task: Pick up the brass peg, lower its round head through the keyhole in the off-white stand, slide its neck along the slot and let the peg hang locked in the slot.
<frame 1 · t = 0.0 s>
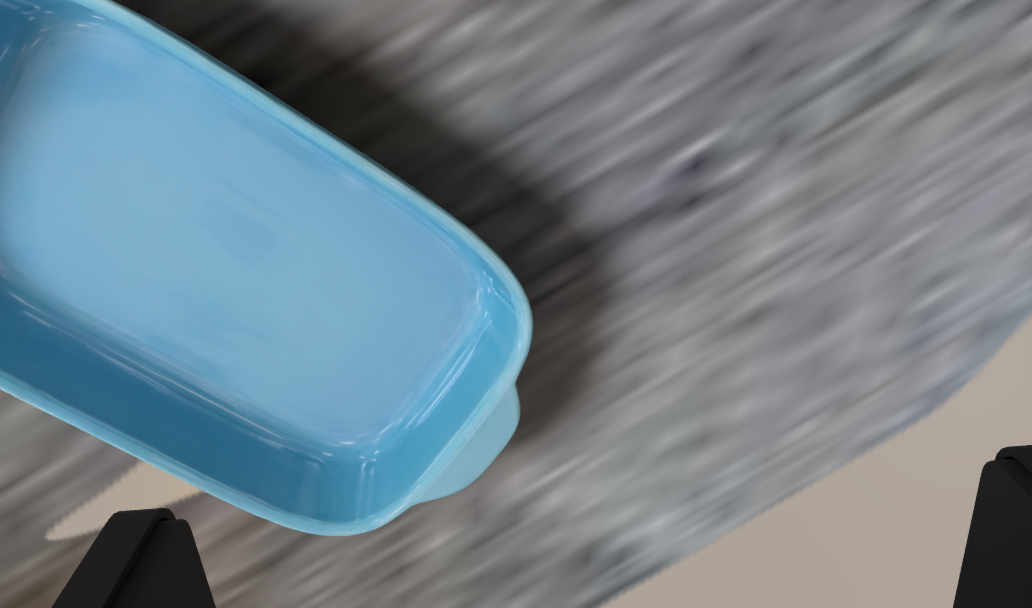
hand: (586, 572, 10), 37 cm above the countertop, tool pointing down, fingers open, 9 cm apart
casserole dish: (239, 249, 48), on the countertop
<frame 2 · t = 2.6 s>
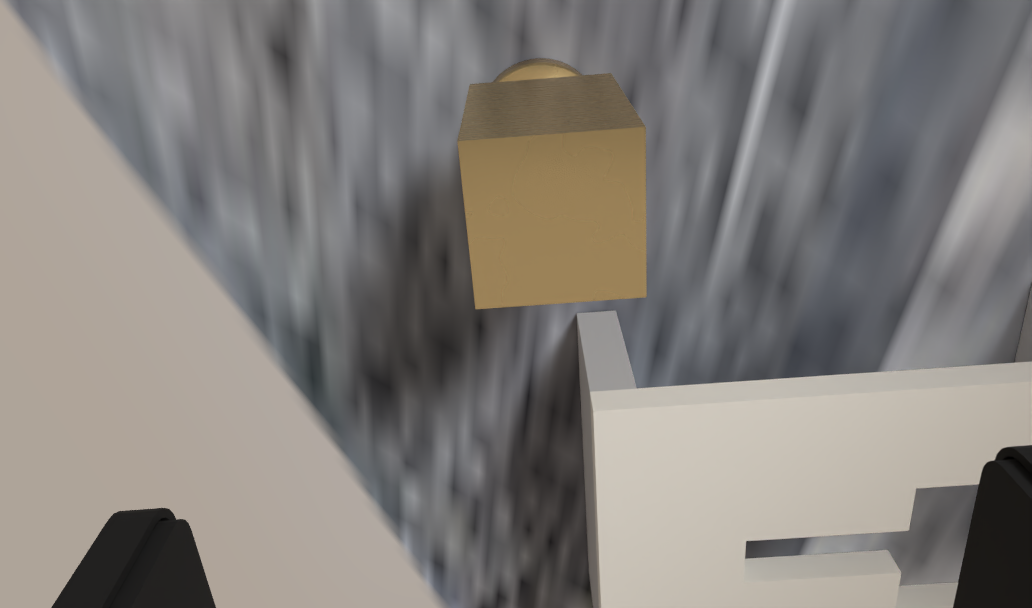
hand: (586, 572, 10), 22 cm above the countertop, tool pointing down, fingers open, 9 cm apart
brass peg: (540, 120, 30), on the countertop
keyhole stand: (808, 438, 36), on the countertop
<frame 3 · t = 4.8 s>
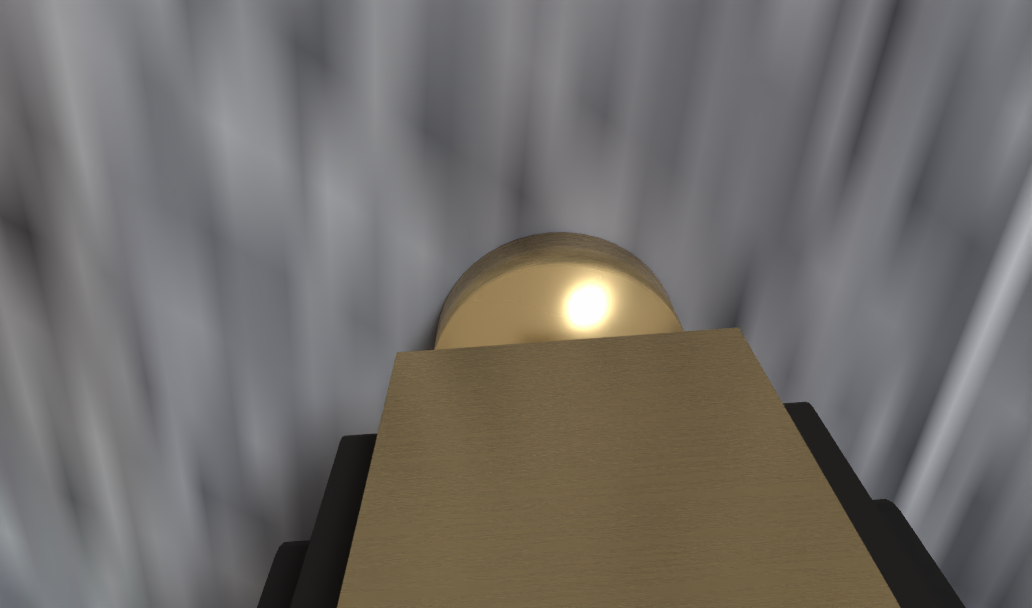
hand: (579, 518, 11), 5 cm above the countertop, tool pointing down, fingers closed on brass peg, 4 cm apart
brass peg: (556, 344, 15), on the countertop, touching gripper
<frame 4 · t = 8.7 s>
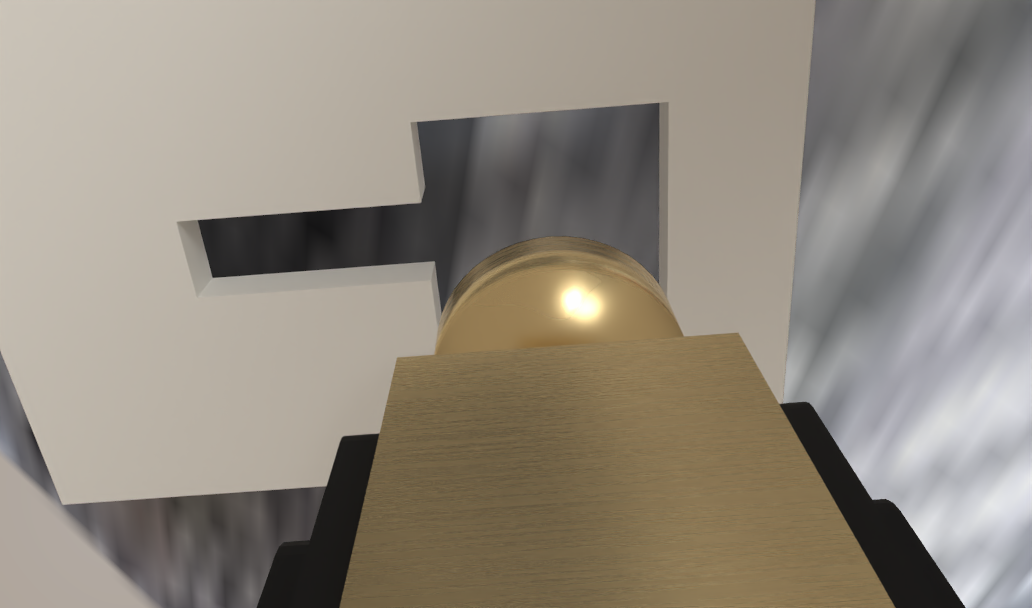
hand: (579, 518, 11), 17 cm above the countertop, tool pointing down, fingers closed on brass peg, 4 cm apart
brass peg: (556, 348, 15), point 12 cm above the countertop, touching gripper
keyhole stand: (410, 162, 26), on the countertop
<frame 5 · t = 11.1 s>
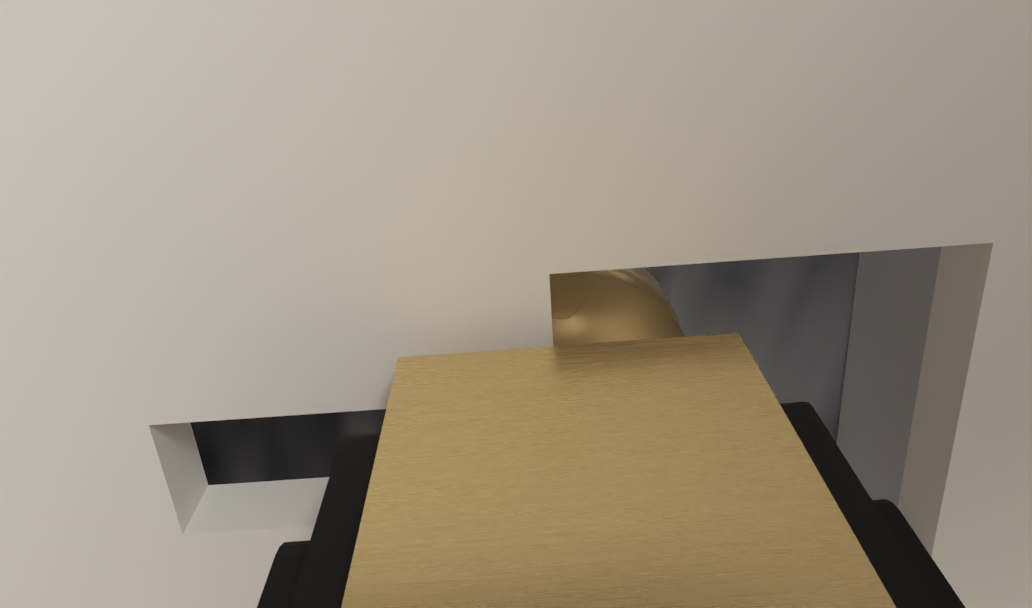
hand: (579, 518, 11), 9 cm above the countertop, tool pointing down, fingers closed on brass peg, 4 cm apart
brass peg: (557, 348, 15), point 4 cm above the countertop, touching gripper
keyhole stand: (489, 268, 18), on the countertop
when the fingers open (8 cm above the countertop, at t = 12.8 s): brass peg stays where it is, resting on keyhole stand.
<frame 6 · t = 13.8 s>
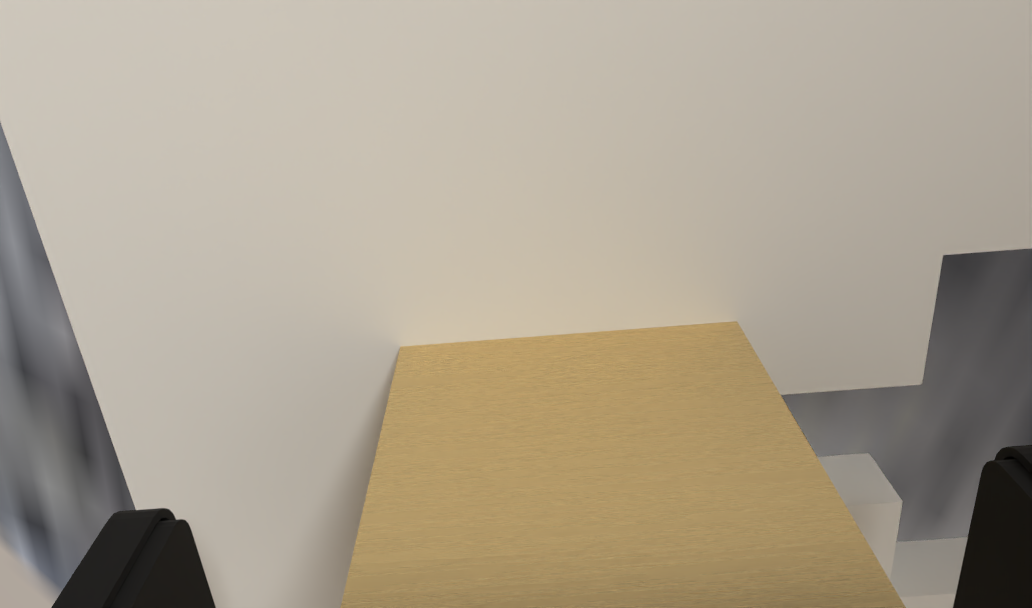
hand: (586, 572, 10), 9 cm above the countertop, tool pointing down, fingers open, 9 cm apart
brass peg: (557, 341, 15), point 3 cm above the countertop, touching keyhole stand
keyhole stand: (712, 258, 18), on the countertop
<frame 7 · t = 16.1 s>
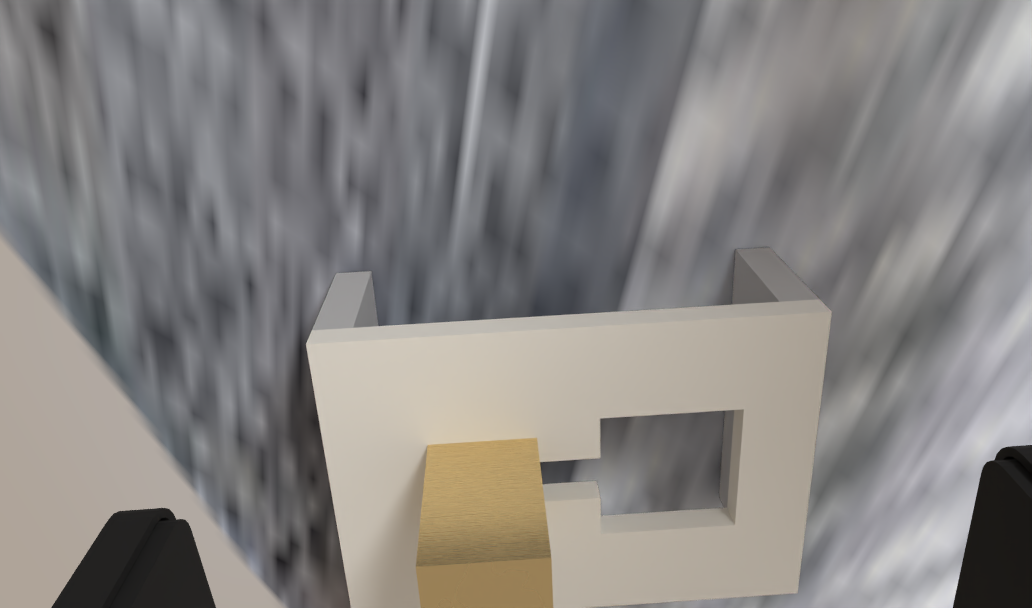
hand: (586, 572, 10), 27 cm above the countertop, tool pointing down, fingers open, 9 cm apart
brass peg: (484, 434, 37), point 3 cm above the countertop, touching keyhole stand
keyhole stand: (558, 392, 40), on the countertop
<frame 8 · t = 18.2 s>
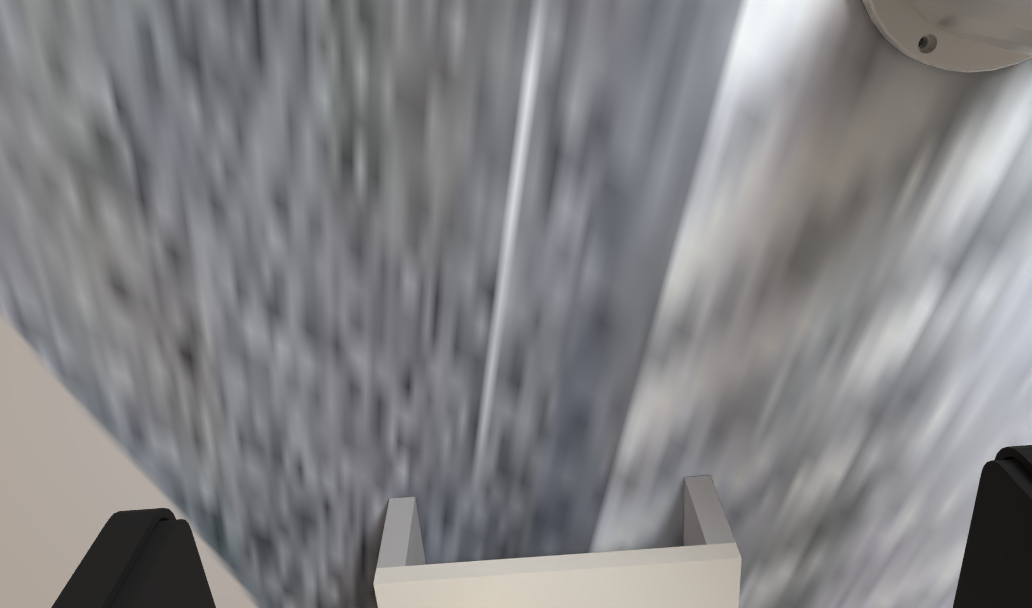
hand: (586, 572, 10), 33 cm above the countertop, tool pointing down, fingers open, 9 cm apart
keyhole stand: (555, 572, 54), on the countertop
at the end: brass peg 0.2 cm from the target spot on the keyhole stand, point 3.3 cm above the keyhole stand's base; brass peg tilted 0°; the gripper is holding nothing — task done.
